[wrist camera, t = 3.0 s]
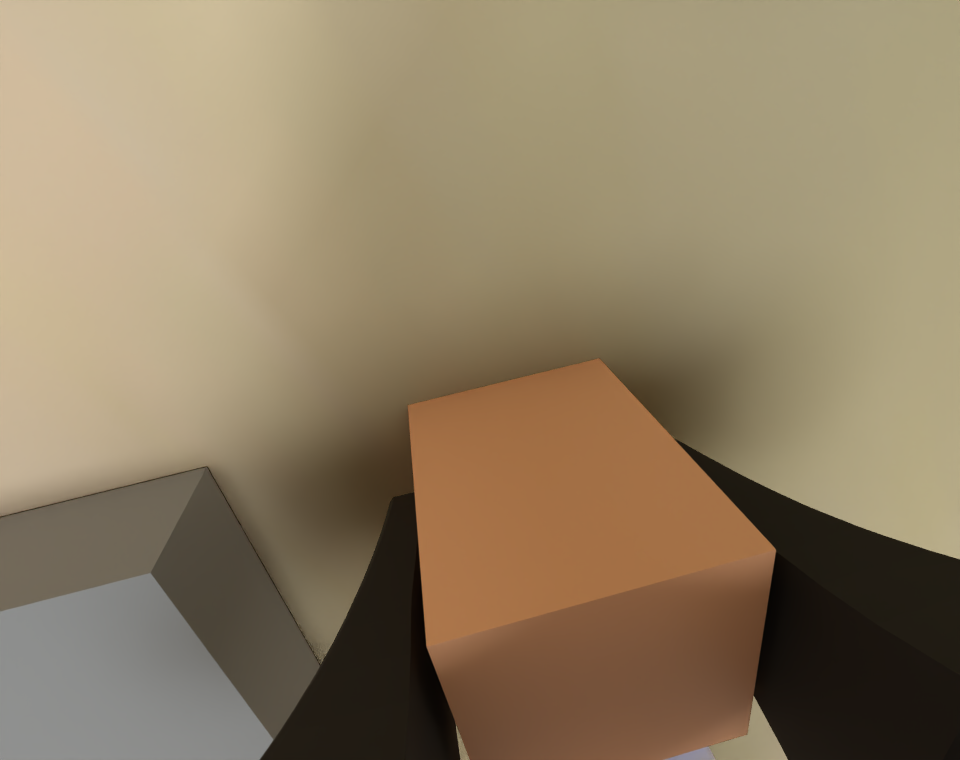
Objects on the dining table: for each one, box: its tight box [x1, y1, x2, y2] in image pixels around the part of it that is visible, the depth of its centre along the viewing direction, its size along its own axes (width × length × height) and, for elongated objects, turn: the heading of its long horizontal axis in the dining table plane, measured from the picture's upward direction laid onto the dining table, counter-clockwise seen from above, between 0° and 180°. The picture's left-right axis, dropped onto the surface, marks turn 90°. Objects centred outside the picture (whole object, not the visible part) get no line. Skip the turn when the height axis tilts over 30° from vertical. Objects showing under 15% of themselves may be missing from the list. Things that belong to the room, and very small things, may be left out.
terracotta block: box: [408, 358, 776, 760], centre depth 10 cm, size 5×5×6 cm
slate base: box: [0, 467, 320, 760], centre depth 12 cm, size 10×10×3 cm
